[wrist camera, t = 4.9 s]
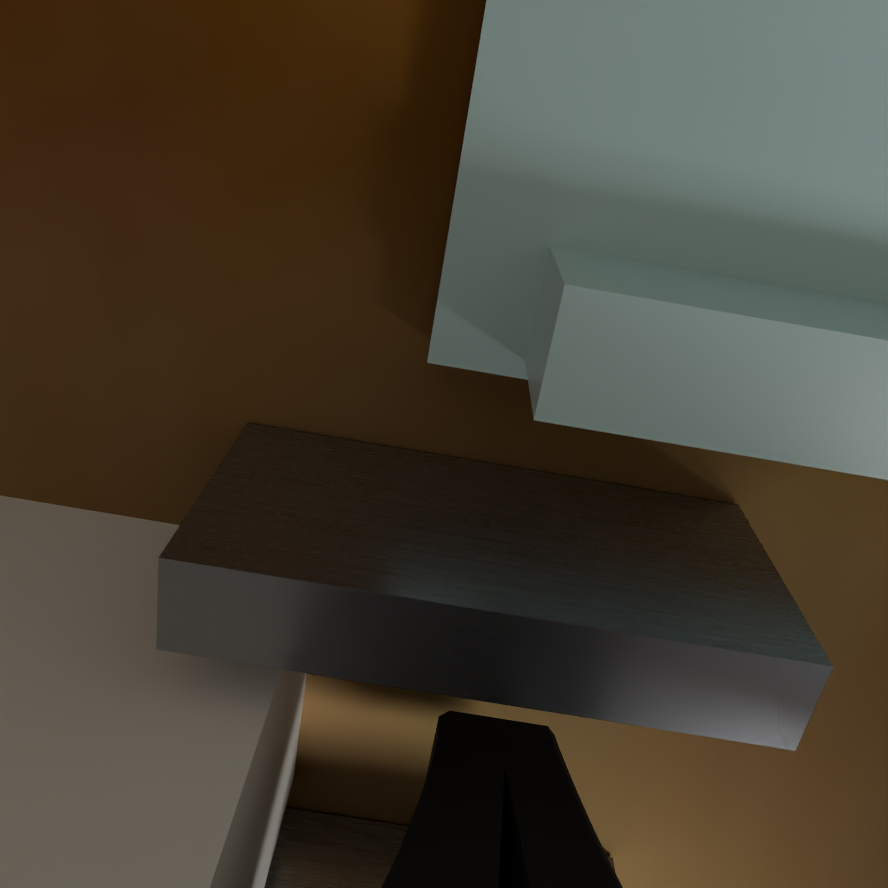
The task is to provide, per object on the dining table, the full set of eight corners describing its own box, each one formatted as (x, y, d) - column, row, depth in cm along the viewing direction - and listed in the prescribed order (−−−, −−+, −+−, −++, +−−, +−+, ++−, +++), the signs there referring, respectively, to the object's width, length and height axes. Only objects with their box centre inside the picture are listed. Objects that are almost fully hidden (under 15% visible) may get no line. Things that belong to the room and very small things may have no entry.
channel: (738, 504, 10) (832, 666, 7) (596, 901, 13) (627, 1122, 10) (247, 423, 10) (158, 557, 7) (217, 843, 13) (147, 1052, 10)
